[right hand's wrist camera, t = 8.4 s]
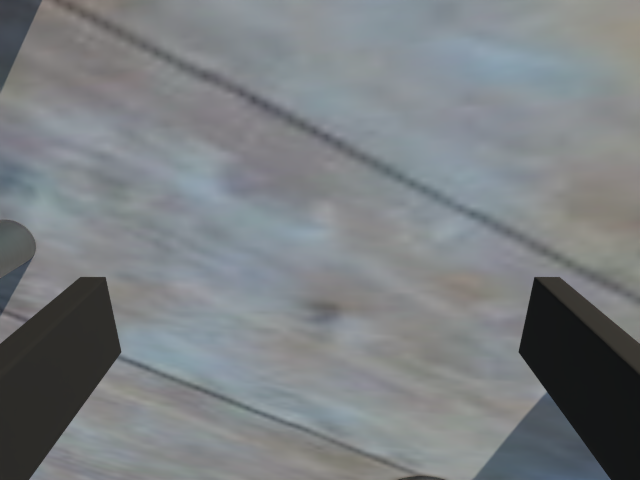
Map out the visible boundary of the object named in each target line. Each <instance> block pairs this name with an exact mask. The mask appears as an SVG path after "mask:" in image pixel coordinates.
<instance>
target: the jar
mask: <svg viewBox="0 0 640 480" xmlns="http://www.w3.org/2000/svg"><path fill="white" fill-rule="evenodd" d="M35 250H36V245H35V240H34V238H33V236H32V234H31V233H30V232H29V231H28V230H27V229H26V228H25V227H24V226H23V225H21V224H19V223H17V222H14V221H11V220H0V278H2V277H3V276H5V275H7V274H8V273H10V272H11V271H13V270H15V269H16V268H18V267H19V266H21V265H22V264H24V263H26V262H27V261H29V260H30V259H31V258H32V257H33V256H34V253H35Z"/></svg>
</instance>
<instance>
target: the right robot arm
mask: <svg viewBox="0 0 640 480" xmlns="http://www.w3.org/2000/svg"><path fill="white" fill-rule="evenodd" d="M120 353H121V348H120V343H119V339H118V334H117V329H116V324H115V320H114V315H113V310H112V306H111V301H110V296H109V291H108V287H107V282H106V277H80V278H79V279H78V280H76V281H75V282H74V283H73V284H72V285H70V286H69V287H68V288H67V289H66V290H64V291H63V292H62V293H61V294H60V295H58V296H57V297H56V298H55V299H54V300H52V301H51V302H50V303H49V304H48V305H46V306H45V307H44V308H43V309H42V310H40V311H39V312H38V313H37V314H36V315H34V316H33V317H32V318H31V319H30V320H28V321H27V322H26V323H25V324H24V325H22V326H21V327H20V328H19V329H18V330H16V331H15V332H14V333H13V334H12V335H10V336H9V337H8V338H7V339H6V340H4V341H3V342H2V343H1V344H0V480H29V479H30V478H31V476H32V475H33V473H34V472H35V471H36V469H37V468H38V466H39V465H40V464H41V462H42V461H43V460H44V458H45V457H46V455H47V454H48V453H49V451H50V450H51V449H52V447H53V446H54V444H55V443H56V442H57V440H58V439H59V437H60V436H61V435H62V433H63V432H64V431H65V429H66V428H67V426H68V425H69V424H70V422H71V421H72V420H73V418H74V417H75V415H76V414H77V413H78V411H79V410H80V408H81V407H82V406H83V404H84V403H85V402H86V400H87V399H88V397H89V396H90V395H91V393H92V392H93V391H94V389H95V388H96V386H97V385H98V384H99V382H100V381H101V379H102V378H103V377H104V375H105V374H106V373H107V371H108V370H109V368H110V367H111V366H112V364H113V363H114V362H115V360H116V359H117V357H118V356H119V355H120ZM519 353H520V355H521V356H522V357H523V359H524V360H525V362H526V363H527V364H528V366H529V367H530V368H531V370H532V371H533V373H534V374H535V375H536V377H537V378H538V379H539V381H540V382H541V384H542V385H543V386H544V388H545V389H546V391H547V392H548V393H549V395H550V396H551V397H552V399H553V400H554V402H555V403H556V404H557V406H558V407H559V408H560V410H561V411H562V413H563V414H564V415H565V417H566V418H567V420H568V421H569V422H570V424H571V425H572V426H573V428H574V429H575V431H576V432H577V433H578V435H579V436H580V437H581V439H582V440H583V442H584V443H585V444H586V446H587V447H588V449H589V450H590V451H591V453H592V454H593V455H594V457H595V458H596V460H597V461H598V462H599V464H600V465H601V467H602V468H603V469H604V471H605V472H606V473H607V475H608V476H609V478H610V479H611V480H640V344H639V343H638V342H637V341H636V340H634V339H633V338H632V337H631V336H630V335H628V334H627V333H626V332H625V331H624V330H622V329H621V328H620V327H619V326H618V325H616V324H615V323H614V322H613V321H612V320H610V319H609V318H608V317H607V316H606V315H604V314H603V313H602V312H601V311H600V310H598V309H597V308H596V307H595V306H594V305H592V304H591V303H590V302H589V301H588V300H586V299H585V298H584V297H583V296H582V295H580V294H579V293H578V292H577V291H576V290H574V289H573V288H572V287H571V286H570V285H568V284H567V283H566V282H565V281H564V280H562V279H561V278H560V277H534V282H533V287H532V291H531V296H530V301H529V306H528V310H527V315H526V320H525V324H524V329H523V334H522V339H521V343H520V348H519ZM399 480H444V479H440V478H436V477H428V476H416V477H408V478H403V479H399Z"/></svg>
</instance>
